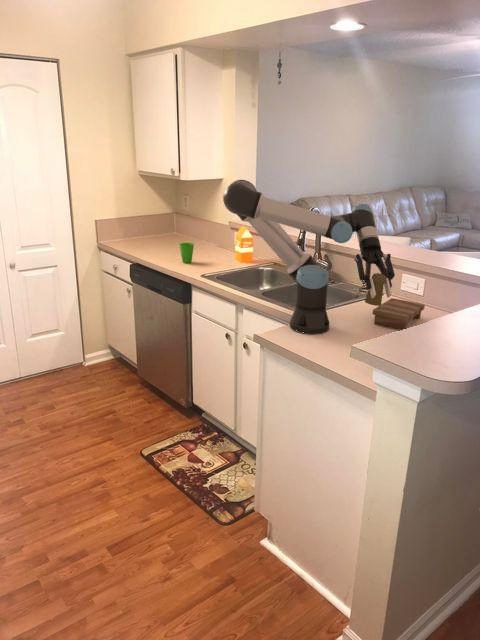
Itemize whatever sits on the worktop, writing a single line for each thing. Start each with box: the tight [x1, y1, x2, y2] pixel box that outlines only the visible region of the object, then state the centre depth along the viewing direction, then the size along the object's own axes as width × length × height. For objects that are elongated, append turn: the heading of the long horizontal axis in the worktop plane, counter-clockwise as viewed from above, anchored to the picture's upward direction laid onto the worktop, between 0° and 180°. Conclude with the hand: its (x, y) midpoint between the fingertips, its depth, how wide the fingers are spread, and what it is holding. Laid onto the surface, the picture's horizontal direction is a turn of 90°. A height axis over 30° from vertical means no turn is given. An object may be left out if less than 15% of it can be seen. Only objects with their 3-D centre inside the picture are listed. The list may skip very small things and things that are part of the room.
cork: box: [364, 272, 386, 307], centre depth 186 cm, size 6×6×11 cm
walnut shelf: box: [372, 297, 426, 331], centre depth 207 cm, size 20×14×6 cm
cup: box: [178, 242, 195, 264], centre depth 299 cm, size 9×9×11 cm
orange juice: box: [235, 225, 254, 264], centre depth 304 cm, size 8×9×20 cm
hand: (381, 296), depth 183 cm, fingers closed on cork, 5 cm apart
